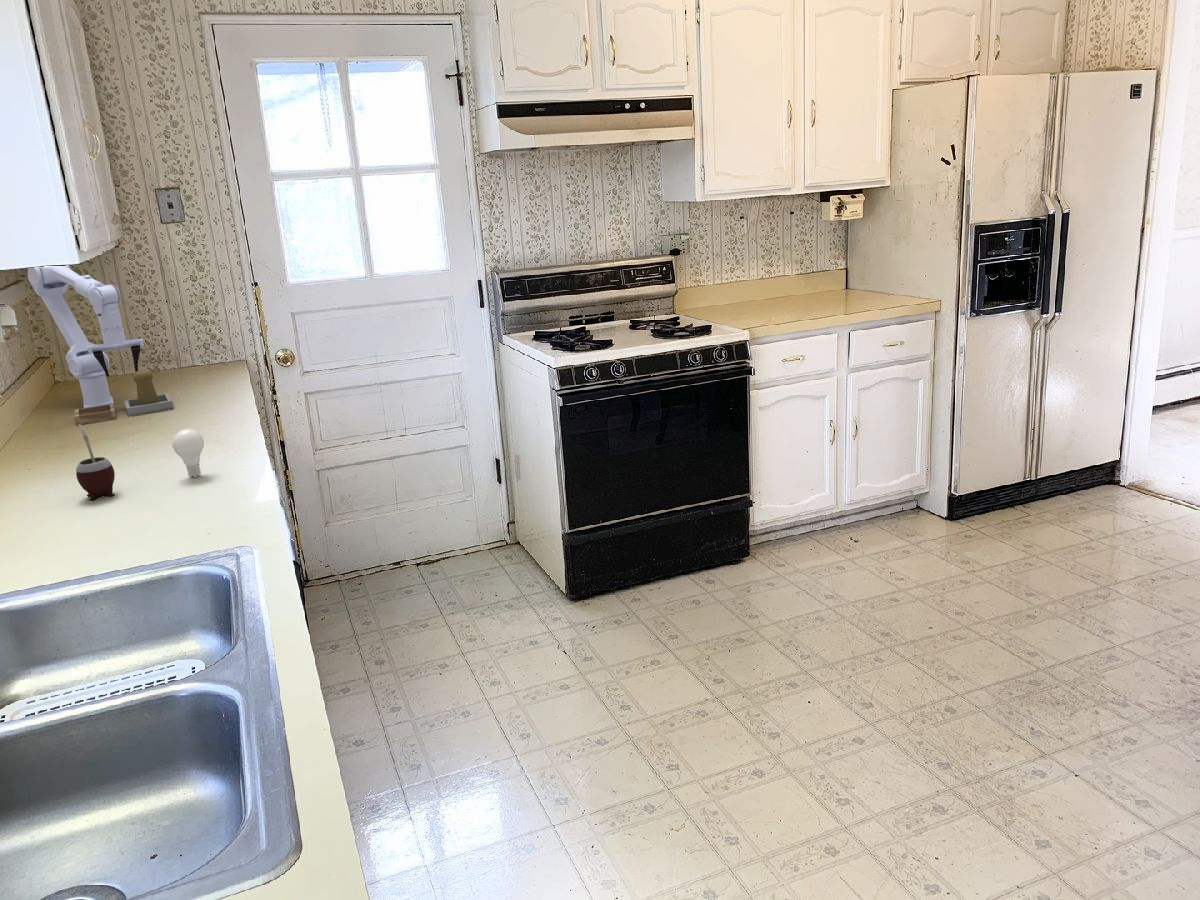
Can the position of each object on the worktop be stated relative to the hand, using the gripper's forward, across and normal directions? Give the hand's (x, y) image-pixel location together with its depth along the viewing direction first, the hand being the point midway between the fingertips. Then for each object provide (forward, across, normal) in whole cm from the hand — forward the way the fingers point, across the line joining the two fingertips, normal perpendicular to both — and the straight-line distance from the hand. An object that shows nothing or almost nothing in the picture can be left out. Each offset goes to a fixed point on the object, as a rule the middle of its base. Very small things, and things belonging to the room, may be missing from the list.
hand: (122, 373), depth 266 cm
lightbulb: (+11, +9, -85) cm, 86 cm away
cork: (+10, +5, -6) cm, 13 cm away
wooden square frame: (+10, -9, -7) cm, 15 cm away
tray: (+10, +5, -6) cm, 13 cm away
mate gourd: (+11, -10, -85) cm, 86 cm away
